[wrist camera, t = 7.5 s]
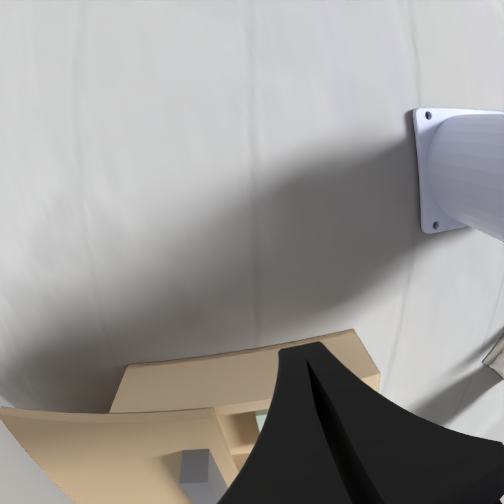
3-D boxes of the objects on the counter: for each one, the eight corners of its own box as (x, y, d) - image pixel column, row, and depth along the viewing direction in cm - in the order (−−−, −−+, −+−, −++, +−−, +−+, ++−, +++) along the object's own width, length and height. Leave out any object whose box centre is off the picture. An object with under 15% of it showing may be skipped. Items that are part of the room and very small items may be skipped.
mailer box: (353, 328, 21) (380, 373, 16) (351, 434, 25) (366, 475, 20) (128, 364, 21) (109, 412, 16) (177, 460, 25) (172, 502, 20)
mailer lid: (213, 407, 16) (211, 454, 13) (251, 503, 20) (254, 535, 17) (1, 406, 16) (-18, 435, 13) (77, 497, 20) (70, 523, 17)
